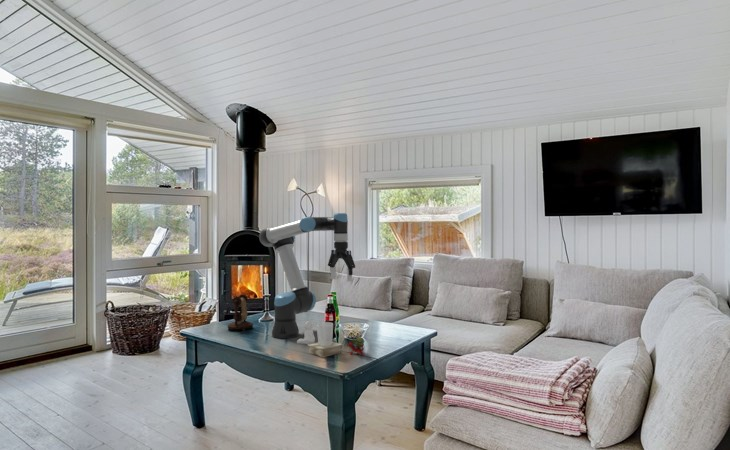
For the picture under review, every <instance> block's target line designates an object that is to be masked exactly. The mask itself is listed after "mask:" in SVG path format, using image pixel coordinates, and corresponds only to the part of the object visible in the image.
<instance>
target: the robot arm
mask: <svg viewBox="0 0 730 450" xmlns="http://www.w3.org/2000/svg"><path fill="white" fill-rule="evenodd" d="M348 219H349V218H348V214H347V213H346V212H344V213H343V212H342V213H341V212H339V213H337V212H336V213H334V214H333V216H305V217H302V218H301V219H299V220H296V221H293V222H290V223H286V224H283V225H279V226H275V227H274V226H270V227H266V228H263V229H262V230H261V231H260V232H259V235H258V238H259V242H260V243H261V245H263V246H264V247H268V248H273V249H274V251H275V252H276V254H277V253H278V256H279V259H280V261H281V265H282V268H283V270H284V274H285V277H286V280H287V283H288V286H289V288H290V289H289V290H290V291H288V292H287V291H286V292H281V293H278V294H276V295H275V297H274V303H273V304H274V324H273V326H272V331H271V337H272V338H276V339H289V338H290V339H291V338H295V337H297V336H299V335H300V329H299V327H298V325H297V318H296V317H297V315H298V314H302V313H307V312H310V311H312V310H314V308H315V306H316V302H317V299H316V295H315V293H314V292H313V291H310V289H309V287H308V286H307V285H305V283H304V279H303V277H302V274H301V271H300V268H299V265H298V262H297V258H296V256H295V253H294V250H293V248H294V246H295V245H294V243H295V241H296V236H299V235H303V234H306V233H310V232H322V231H324V232H327V231H329V232H330V231H333V241H334V242H333V249H331V251H330V255H329V256H330V257H329V260H328V263H327V266H328V267H329V269H330V280H336V279H337V278H336V276H337V275H336V271H337V270H336V264H337V263H338V262H339V259H341V260H343V261H344V263H345V265H346V267H347V269H346V271H347V272H346V273H347V275H346V277H347V280H346V281H347V282H352V281H353V274H354V273H353V269H355V268H356V264H355V261H354V258H353V255H352V251H351V250H348V248H349V242H348V240H349V238H348V237H349V233H348V225H349V223H348V222H349V221H348Z"/></svg>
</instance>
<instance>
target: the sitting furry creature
mask: <svg viewBox="0 0 730 450" xmlns="http://www.w3.org/2000/svg"><path fill="white" fill-rule="evenodd" d="M314 325H315V321H311V320H306V321H305V323H304V324H303V329H304V333H303V334H304V337H303V338H302V337H301V338H299V339H297V340H296V343H297V344H299V345H307V346H308V344H312V343H316V337H315V335H314V331H313V326H314Z"/></svg>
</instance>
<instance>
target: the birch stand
mask: <svg viewBox="0 0 730 450" xmlns="http://www.w3.org/2000/svg"><path fill="white" fill-rule="evenodd" d="M342 346H343V343H338V342H335V341H332V345H330V346H320V345H318V341H317V342H316V341H315V342H314V343H312V344H308V345H307V347H308V352H309V354H312V355H314V356H318V357H320V358H327V357H329V356H333V355H338V354H341V353H342Z"/></svg>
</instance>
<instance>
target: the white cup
mask: <svg viewBox="0 0 730 450" xmlns="http://www.w3.org/2000/svg"><path fill="white" fill-rule="evenodd" d="M333 331H334V323H333V322H330V321H325V322H324V321H323V322H318V323H317V324H316V333H317V342H318V345H320V346H330V345H332V342H333V336H334V335H333V333H334V332H333Z"/></svg>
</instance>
